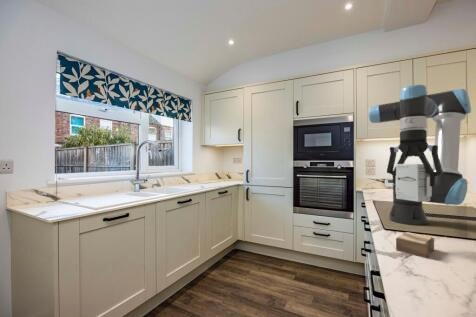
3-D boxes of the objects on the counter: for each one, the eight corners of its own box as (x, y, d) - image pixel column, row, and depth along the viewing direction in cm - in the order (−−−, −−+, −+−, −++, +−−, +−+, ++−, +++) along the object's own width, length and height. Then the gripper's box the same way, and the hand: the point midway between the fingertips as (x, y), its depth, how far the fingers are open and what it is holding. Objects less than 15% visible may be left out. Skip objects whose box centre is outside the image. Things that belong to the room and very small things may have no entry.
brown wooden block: (405, 243, 83) (405, 231, 83) (434, 250, 77) (434, 237, 77) (396, 250, 77) (396, 237, 77) (426, 258, 71) (426, 244, 71)
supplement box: (395, 199, 82) (394, 163, 83) (408, 198, 85) (407, 164, 86) (418, 202, 76) (417, 163, 76) (431, 200, 79) (430, 164, 79)
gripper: (376, 132, 87) (375, 192, 87) (450, 125, 71) (451, 199, 70) (383, 133, 92) (383, 190, 91) (455, 128, 75) (455, 197, 75)
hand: (412, 194), depth 81 cm, fingers closed on supplement box, 8 cm apart
